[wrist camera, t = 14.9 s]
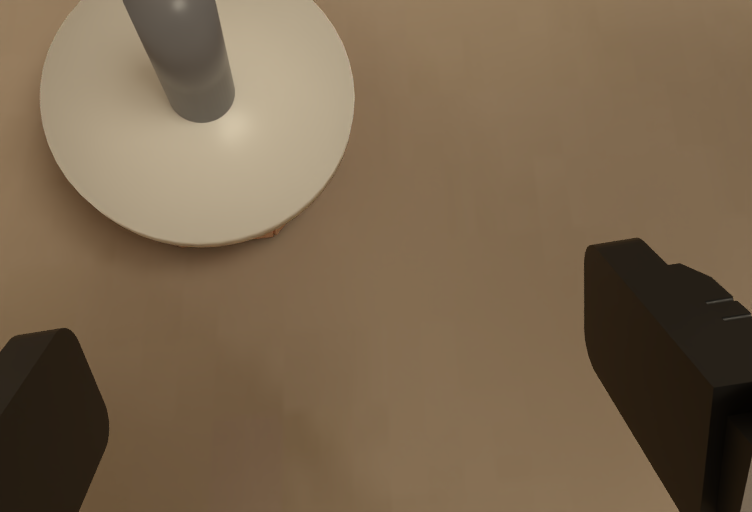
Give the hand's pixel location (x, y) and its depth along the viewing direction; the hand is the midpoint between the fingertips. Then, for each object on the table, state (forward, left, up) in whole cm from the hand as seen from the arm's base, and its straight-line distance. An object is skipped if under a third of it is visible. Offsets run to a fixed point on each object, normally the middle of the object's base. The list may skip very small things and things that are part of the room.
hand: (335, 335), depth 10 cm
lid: (-7, -12, -20) cm, 24 cm away
